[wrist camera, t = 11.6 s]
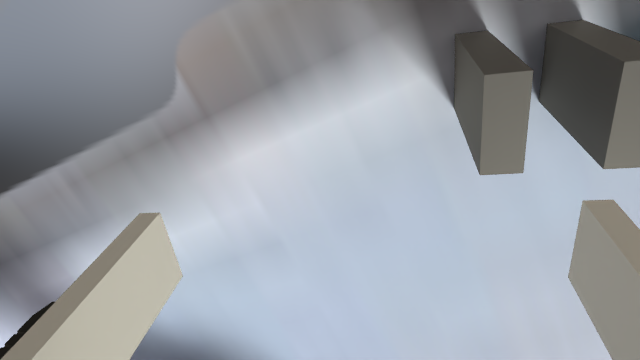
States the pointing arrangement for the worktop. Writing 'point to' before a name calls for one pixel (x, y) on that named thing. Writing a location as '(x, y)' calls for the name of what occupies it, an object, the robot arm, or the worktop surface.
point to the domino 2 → (594, 90)
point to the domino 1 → (492, 102)
